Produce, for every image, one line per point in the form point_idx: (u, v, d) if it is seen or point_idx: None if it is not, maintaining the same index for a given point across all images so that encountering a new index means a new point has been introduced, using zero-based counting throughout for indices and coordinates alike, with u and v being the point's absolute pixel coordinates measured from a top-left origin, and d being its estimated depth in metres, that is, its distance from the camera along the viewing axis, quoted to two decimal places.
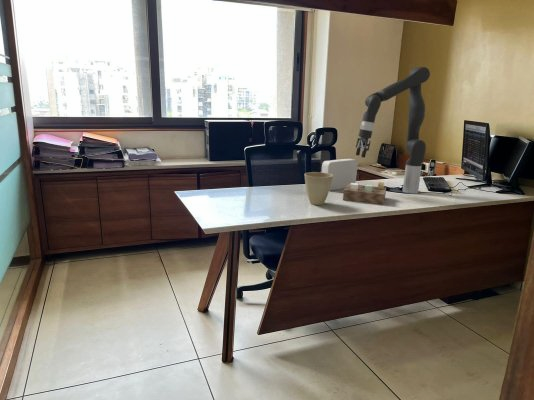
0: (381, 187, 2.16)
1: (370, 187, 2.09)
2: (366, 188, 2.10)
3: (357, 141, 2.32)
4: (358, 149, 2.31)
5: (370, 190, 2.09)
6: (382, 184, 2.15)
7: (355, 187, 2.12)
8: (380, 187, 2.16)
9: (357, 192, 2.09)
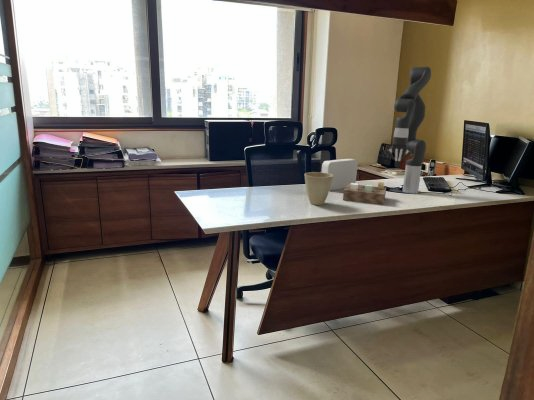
0: (381, 187, 2.16)
1: (370, 187, 2.09)
2: (366, 188, 2.10)
3: (390, 153, 2.10)
4: (397, 161, 2.11)
5: (370, 190, 2.09)
6: (382, 184, 2.15)
7: (355, 187, 2.12)
8: (380, 187, 2.16)
9: (357, 192, 2.09)
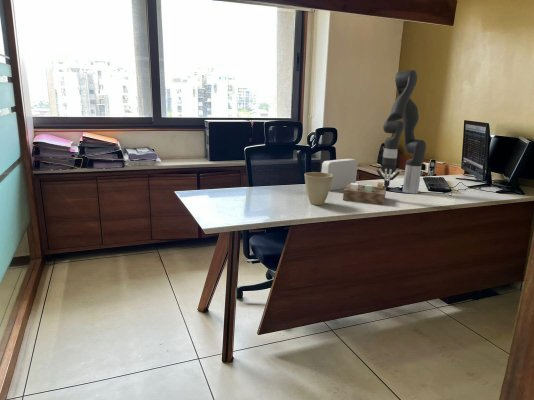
0: (381, 187, 2.16)
1: (370, 187, 2.09)
2: (366, 188, 2.10)
3: (379, 173, 2.14)
4: (386, 180, 2.15)
5: (370, 190, 2.09)
6: (382, 184, 2.15)
7: (355, 187, 2.12)
8: (380, 187, 2.16)
9: (357, 192, 2.09)
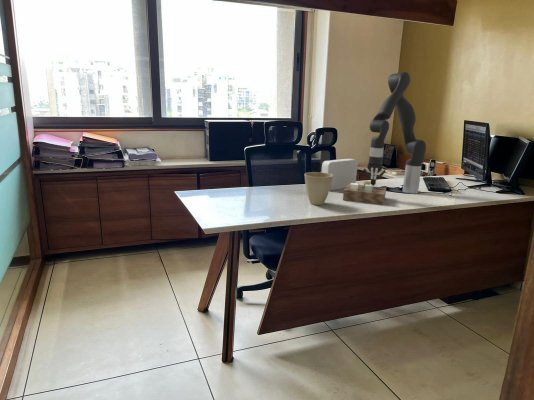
0: None
1: (370, 187, 2.09)
2: (366, 188, 2.10)
3: (366, 172, 2.17)
4: (373, 179, 2.17)
5: (370, 190, 2.09)
6: (368, 183, 2.18)
7: (355, 187, 2.12)
8: None
9: (357, 192, 2.09)
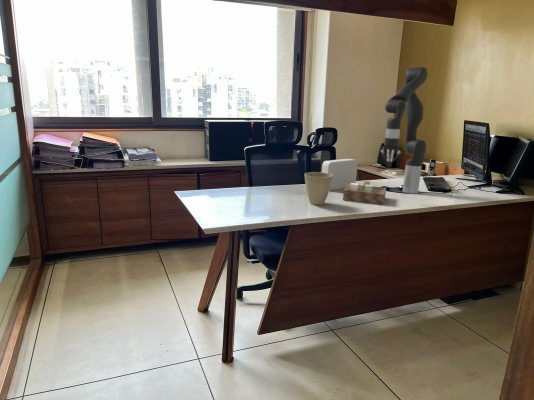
0: None
1: (370, 187, 2.09)
2: (366, 188, 2.10)
3: (381, 154, 2.12)
4: None
5: (370, 190, 2.09)
6: (368, 183, 2.18)
7: (355, 187, 2.12)
8: None
9: (357, 192, 2.09)
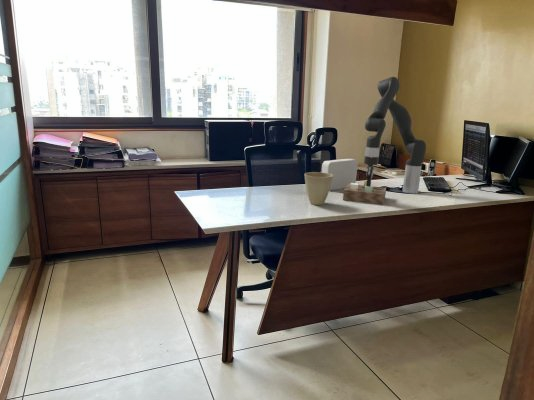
0: None
1: (370, 188, 2.09)
2: (366, 189, 2.10)
3: (371, 174, 2.05)
4: None
5: (370, 191, 2.10)
6: None
7: (355, 187, 2.12)
8: None
9: (357, 192, 2.09)
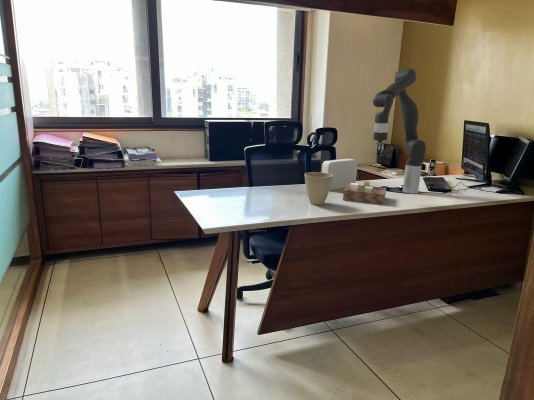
0: (367, 186, 2.18)
1: (370, 189, 2.09)
2: (366, 190, 2.10)
3: (381, 149, 2.06)
4: None
5: None
6: (368, 183, 2.18)
7: (355, 187, 2.12)
8: None
9: (357, 192, 2.09)
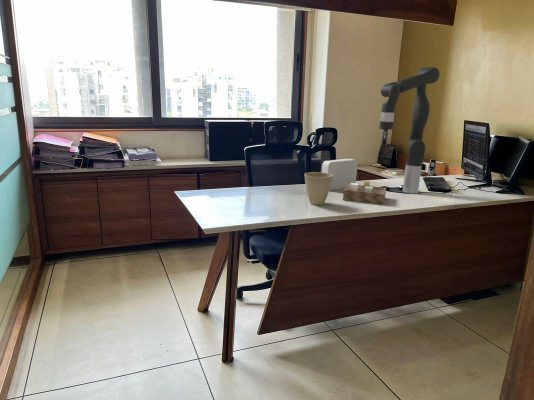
0: (367, 186, 2.18)
1: (370, 189, 2.09)
2: (366, 190, 2.10)
3: (386, 138, 2.12)
4: None
5: None
6: (368, 183, 2.18)
7: (355, 187, 2.12)
8: None
9: (357, 192, 2.09)
